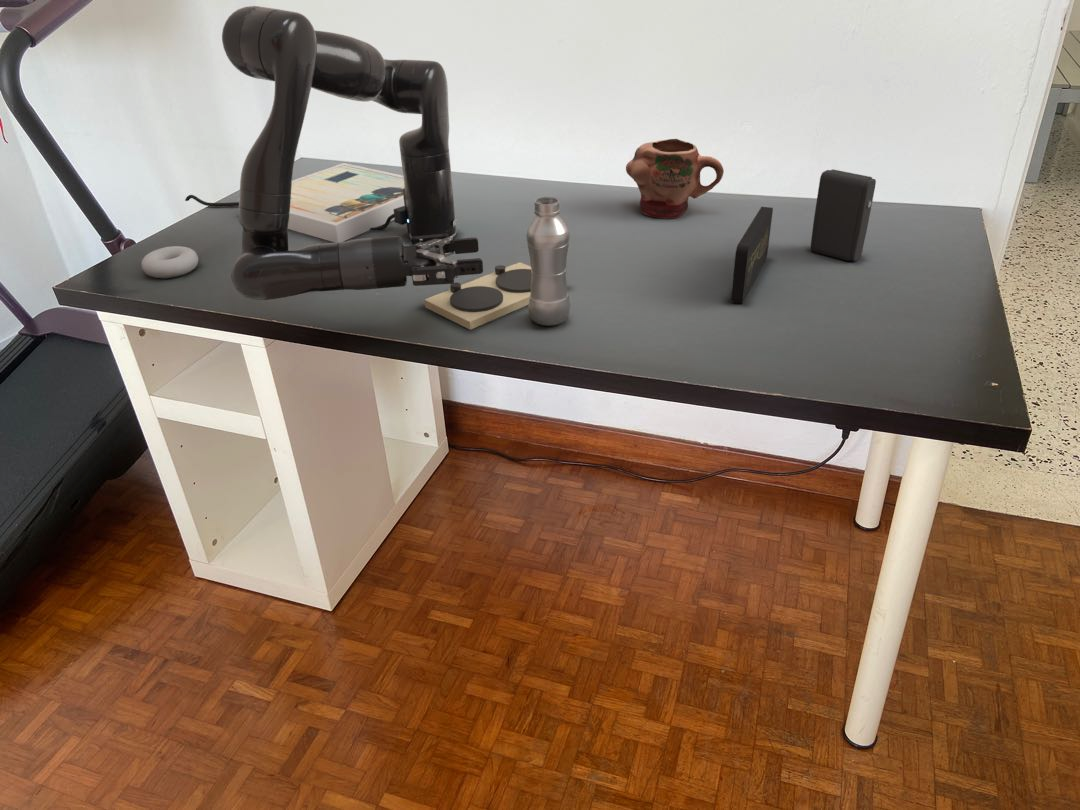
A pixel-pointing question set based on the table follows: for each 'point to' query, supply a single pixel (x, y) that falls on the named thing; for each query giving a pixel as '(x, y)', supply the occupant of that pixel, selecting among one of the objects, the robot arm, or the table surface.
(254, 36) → the robot arm
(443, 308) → the hob
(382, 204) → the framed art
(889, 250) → the table surface
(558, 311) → the silver bottle
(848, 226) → the dark grey upright block
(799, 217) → the table surface
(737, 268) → the nameplate
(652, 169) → the animal head mug
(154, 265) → the donut
